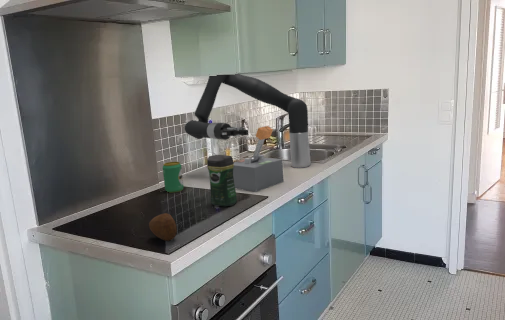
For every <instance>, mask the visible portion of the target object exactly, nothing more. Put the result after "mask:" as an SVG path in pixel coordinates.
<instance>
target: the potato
mask: <svg viewBox="0 0 505 320" xmlns="http://www.w3.org/2000/svg"><path fill="white" fill-rule="evenodd" d="M148 227H149V230H150V231H151V233H153V235H154V236H156V238H159V239H161V240H162V241H166V242H170V241H172V240H174V239H175V237H176V236H177V234H178V233H177V232H178V231H177V223H176V221H175V219H174V218H173V217H172V215H171V214H170V213H167V212H165V213H161V214H158V215H156V216H154V217H153V218H152V219H150V221H149V222H148Z"/></svg>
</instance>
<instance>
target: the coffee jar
mask: <svg viewBox="0 0 505 320" xmlns="http://www.w3.org/2000/svg"><path fill="white" fill-rule="evenodd" d="M206 161H207V163H206V164H207V166H206V167H207V170H208V175H209V185H210V188H209V189H210V190H209V191H210V195H209V196H210V203H211V204H212V205H213V206H218V207H229V206H234V205H235V204H236V203H237V201H238V198H237V197H238V196H237V191H236V190H237V189H236V188H235V184H234V177H233V168H234V162H235V161H234V157H233V156H232V155H227V154H226V155H224V154H214V155H209V156H208V158H207V160H206Z"/></svg>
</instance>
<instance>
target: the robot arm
mask: <svg viewBox="0 0 505 320" xmlns="http://www.w3.org/2000/svg"><path fill="white" fill-rule="evenodd" d="M222 84H224V85H227V86H229V87H232V88H234V89H236V90H239V92H241V93H243V94H245V95H248V96H249V97H251V98H254V99H255V100H256V101H259V102H262V103H265V104H268V105H271V106H274V107H277V108H279V109H281V110H283V111H284V112H286V113H287V115H288V131H289V148H290V165H291V167H293V168H297V169H298V168H299V169H300V168H307V167H310V166H311V146H310V143H309V141H310V140H309V115H308V114H309V113H308V112H309V111H308V105H307V104H306V102H305V101H304V100H302V99H299V98H297V97H294V96H292V95H291V96H290V95H288V94H286V93H283V92H282V91H280V90H279V89H277V88H276V87H274V86H272V85H271V84H269V83H268V82H265V81H262V80H260V79H258V78H256V77H252V76H247V75H243V74H240V73H238V74H235V75H217V76H209V75H208V78H207V82H206V85H205V88H204V91H203V92H202V95H201V97H200V99H199V102H198V104H197V106H196V107H195V111H194V116H195V117H196V118H197V120H195V119H193V120H189V121H187V122H186V123H185V125H184V132H185V133H186V134H187V135H188V136H191V137H192V138H194V139H197V140H201V139H203V138H205V139H214V140H224V141H225V140H228V139H230V138H231V137H237V136H248V135H249V130H248V129H245V128H244V127H243V126H240V127H235V126H231V125H230V124H229V123H228V122H209V117H210V115H211V113H212V111H213V108H214V106H215V103H216V99H217V95H218V93H219V89H220V87H221V85H222Z"/></svg>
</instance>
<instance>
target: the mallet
mask: <svg viewBox="0 0 505 320" xmlns="http://www.w3.org/2000/svg"><path fill="white" fill-rule="evenodd" d="M273 130H274V129H273V128H271V127H270V126H269V125H266V126H265V125H264V126H260V127H258V128H257V131H256V133H255V138H257V139H258V141H257V143H256V146H255V149H254V152H253V154H252V158H251V157H249V158H250V159H251V163H252V162H255V161H259V160H260V158H259V157H258V156H259V155H260V152H262V151H261V150H262V147H263V145H264V142H265V140H266V139H271V136H272V133H273Z"/></svg>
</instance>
